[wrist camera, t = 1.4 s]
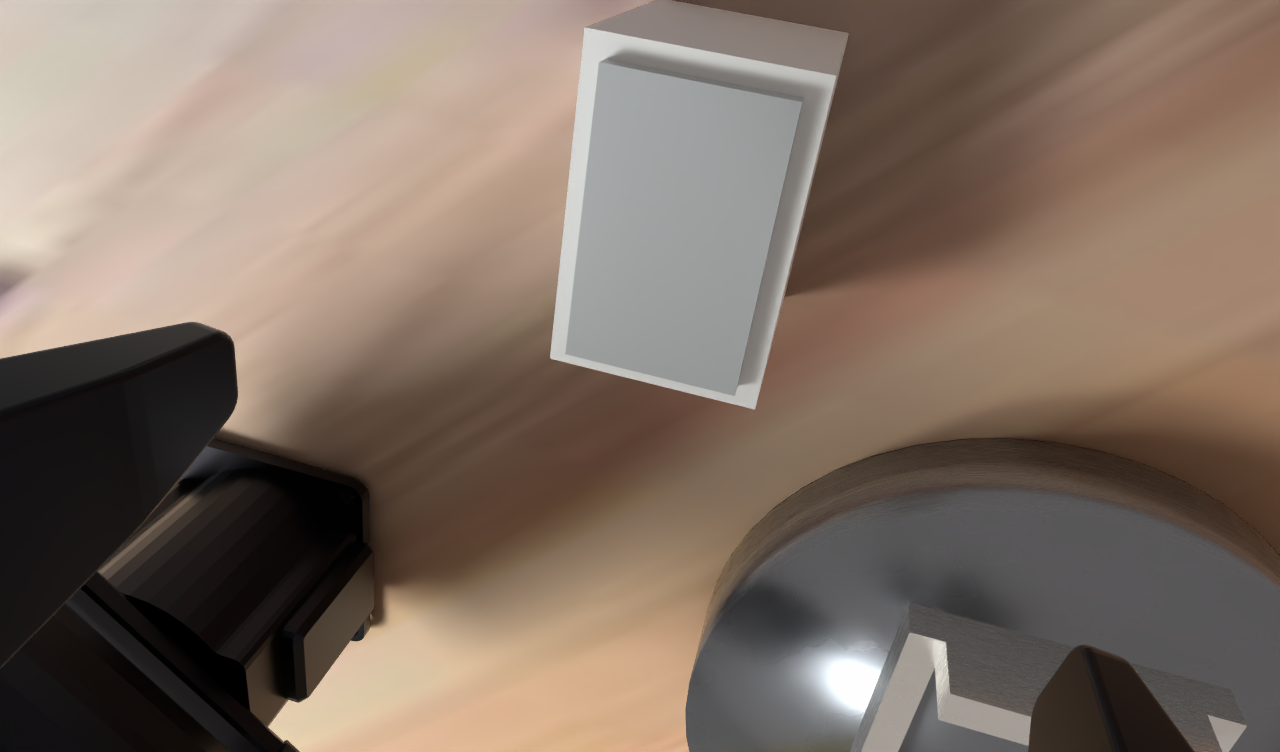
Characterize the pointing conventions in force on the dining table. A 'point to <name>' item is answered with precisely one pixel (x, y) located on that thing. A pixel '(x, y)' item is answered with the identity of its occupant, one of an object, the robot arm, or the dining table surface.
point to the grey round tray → (984, 605)
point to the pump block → (689, 193)
